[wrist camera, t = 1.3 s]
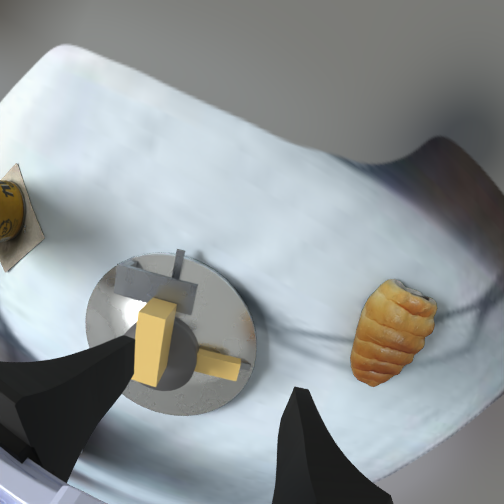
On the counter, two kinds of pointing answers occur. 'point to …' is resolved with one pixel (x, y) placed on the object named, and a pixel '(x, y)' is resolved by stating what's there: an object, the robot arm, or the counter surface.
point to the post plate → (189, 311)
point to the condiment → (16, 220)
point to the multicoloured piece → (172, 350)
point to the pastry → (390, 331)
